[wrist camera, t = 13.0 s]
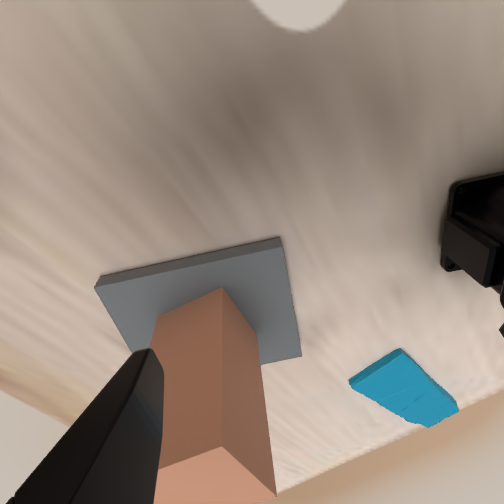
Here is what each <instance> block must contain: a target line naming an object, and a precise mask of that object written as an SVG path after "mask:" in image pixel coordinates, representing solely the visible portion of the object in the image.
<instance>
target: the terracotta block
mask: <svg viewBox="0 0 504 504" xmlns="http://www.w3.org/2000/svg"><path fill="white" fill-rule="evenodd" d="M149 348H151V349H153V351H154V352H155V354H156V356H157V358H158V360H159V362H160V363H161V365H162V367H163V370H164V410H163V435H162V445H161V453H160V460H159V467H158V475H157V482H156V489H155V496H154V504H256V503H259V502H262V501H265V500H269V499H272V498H274V497H277V493H276V485H275V477H274V469H273V461H272V453H271V445H270V437H269V429H268V421H267V413H266V405H265V397H264V389H263V381H262V373H261V365H260V358H259V350H258V342H257V335H256V333H255V332H254V331H253V329H252V328H251V326H250V325H249V324H248V322H247V321H246V319H245V318H244V317H243V315H242V314H241V312H240V311H239V310H238V308H237V307H236V305H235V304H234V303H233V301H232V300H231V298H230V297H229V295H228V294H227V293H226V291H225V290H224V288H223V287H221V288H219V289H216V290H214V291H212V292H210V293H208V294H206V295H204V296H201V297H199V298H197V299H195V300H193V301H191V302H189V303H186V304H184V305H182V306H180V307H178V308H176V309H174V310H171V311H169V312H167V313H165V314H163V315H161V316H159V317H157V321H156V324H155V328H154V332H153V336H152V340H151V344H150V347H149Z"/></svg>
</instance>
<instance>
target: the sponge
mask: <svg viewBox="0 0 504 504" xmlns="http://www.w3.org/2000/svg"><path fill="white" fill-rule="evenodd" d="M349 384H350V385H351V388H352V389H354V390H355V391H357V392H359V393H361V394H364V395H365V396H366V397H368V398H370V399H372V400H374V401H376V402H377V403H379V404H380V405H381V406H383V407H385V408H386V409H388V410H390V411H391V412H393V413H395V414H396V415H399V416H400V417H403V418H404V419H405V420H406V421H408V422H411V423H415V424H421V425H423V426H426V427H428V428H429V427H431V426H433V425H435V424H437V423H438V422H440V421H442V420H443V419H444V418H447V417H449V416H451V415H453V414H455V413H457V412H459V409H458V407H457V403H456V401H455V400H454V399H453V397H452V396H451V395H450V394H449V393H448V392H447V391H445V390H444V389H443V388H442V387H441V386H440V385H439V384H437V383H436V382H435V381H434V380H433V379H431V378H430V377H429V376H428V375H427V374H426V372H425V371H424V370H423V369H421V368H420V366H418V365H417V364H416V363H415V362H414V361H413V360H412V359H411V358H410V357H408V355H406V354H405V353H404V352H403V351H402V350H401V349H396V350H395V351H393V352H391V353H389V354H388V355H386V356H385V357H383V358H382V359H380V360H378V361H377V362H375V363H373V364H372V365H370V366H369V367H367V368H366V369H364V370H363V371H361V372H360V373H358V374H357V375H355V376H354V377H352V378H351V379H349Z"/></svg>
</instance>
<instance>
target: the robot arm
mask: <svg viewBox="0 0 504 504" xmlns="http://www.w3.org/2000/svg"><path fill="white" fill-rule="evenodd" d="M461 188H462V190H461V191H460V192H459V193H458V191H459V190H460V189H461ZM450 263H451V264H450ZM449 264H450V265H449ZM441 267H442V268H443V269H444V270H445V271H447V272H451V271H456V270H461V269H463V270H464V271H465V272H466V273H468V274H469V275H470V276H471V277H472V278H473V279H475V280H476V281H477V282H478V283H479V284H481V285H482V286H483V287H485V288H487V287H491V288H493V289H494V290H495V291H496V292H497V293H499V294H500V302H501V305H502V307H503V308H504V171H503V172H499V173H494V174H490V175H485V176H481V177H476V178H472V179H467V180H463V181H459V182H456V183H455V184H454V185H453V186H452V187H451V190H450V196H449V204H448V212H447V218H446V220H445V227H444V235H443V244H442V259H441ZM499 331H500V332H501V334H502V336H503V337H504V323H503V325H502V326H501V327H500V329H499ZM163 410H164V370H163V367H162V365H161V363H160V362H159V360H158V358H157V356H156V354H155V352H154V351H153V349H151V348H145V349H141V350H137V351H135V352H134V353H133V354H132V355H131V356H130V357H129V358H128V359H127V361H126V362H125V363H124V364H123V365H122V367H121V368H120V369H119V370H118V371H117V372H116V374H115V375H114V376H113V377H112V378H111V380H110V381H109V382H108V383H107V384H106V386H105V387H104V388H103V389H102V390H101V391H100V393H99V394H98V395H97V396H96V397H95V399H94V400H93V401H92V402H91V403H90V405H89V406H88V407H87V408H86V409H85V410H84V412H83V413H82V414H81V415H80V416H79V418H78V419H77V420H76V421H75V422H74V423H73V425H72V426H71V427H70V428H69V430H68V431H67V432H66V433H65V434H64V435H63V437H62V438H61V439H60V440H59V441H58V442H57V444H56V445H55V446H54V447H53V449H52V450H51V451H50V452H49V453H48V454H47V456H46V457H45V458H44V459H43V460H42V461H41V463H40V464H39V465H38V466H37V467H36V469H35V470H34V471H33V472H32V473H31V475H30V476H29V477H28V478H27V479H26V481H25V482H24V483H23V484H22V485H21V487H20V488H19V489H18V490H17V491H16V493H15V496H14V497H11V498H10V499H9V500H8V502H7V503H6V504H154V496H155V489H156V482H157V475H158V467H159V460H160V453H161V445H162V435H163Z"/></svg>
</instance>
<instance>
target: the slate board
mask: <svg viewBox="0 0 504 504" xmlns="http://www.w3.org/2000/svg"><path fill="white" fill-rule="evenodd" d="M221 287H223V288H224V290H225V291H226V293H227V294H228V295H229V297H230V298H231V300H232V301H233V303H234V304H235V305H236V307H237V308H238V310H239V311H240V312H241V314H242V315H243V317H244V318H245V319H246V321H247V322H248V324H249V325H250V326H251V328H252V329H253V331H254V332H255V333H256V335H257V342H258V350H259V358H260V365H263V364H267V363H272V362H277V361H282V360H287V359H292V358H297V357H302V352H301V346H300V341H299V335H298V330H297V324H296V319H295V313H294V307H293V302H292V296H291V291H290V285H289V280H288V274H287V268H286V263H285V257H284V252H283V246H282V243H281V240H280V237H279V238H275V239H270V240H265V241H261V242H256V243H252V244H247V245H243V246H238V247H233V248H229V249H224V250H220V251H215V252H211V253H206V254H201V255H197V256H192V257H188V258H183V259H179V260H174V261H169V262H165V263H160V264H156V265H151V266H147V267H142V268H137V269H133V270H128V271H124V272H119V273H115V274H110V275H105V276H101V277H100V278H99V280H98V281H97V283H96V285H95V286H94V289H95V291H96V292H97V294H98V296H99V297H100V299H101V301H102V303H103V304H104V306H105V308H106V309H107V311H108V313H109V315H110V316H111V318H112V320H113V321H114V323H115V325H116V327H117V328H118V330H119V332H120V333H121V335H122V337H123V339H124V340H125V342H126V344H127V345H128V347H129V349H130V351H131V352H132V354H133V353H134V352H135V351H137V350H141V349H145V348H149V347H150V344H151V340H152V336H153V332H154V328H155V324H156V321H157V317H159V316H161V315H163V314H165V313H167V312H169V311H171V310H174V309H176V308H178V307H180V306H182V305H184V304H186V303H189V302H191V301H193V300H195V299H197V298H199V297H201V296H204V295H206V294H208V293H210V292H212V291H214V290H216V289H219V288H221Z"/></svg>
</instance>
